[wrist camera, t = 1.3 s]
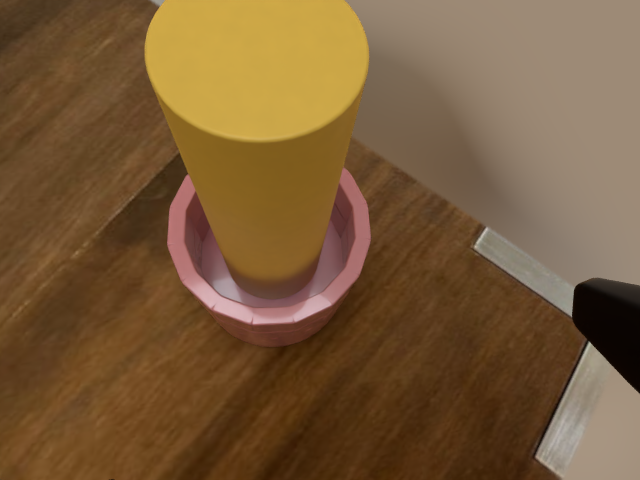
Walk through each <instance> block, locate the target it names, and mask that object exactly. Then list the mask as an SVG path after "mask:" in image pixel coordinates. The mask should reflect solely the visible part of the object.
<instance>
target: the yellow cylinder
mask: <svg viewBox="0 0 640 480" xmlns="http://www.w3.org/2000/svg"><path fill="white" fill-rule="evenodd" d="M145 63H146V69H147V72H148V75H149V78H150V81H151V84H152V86H153V89H154V91H155V94H156V96H157V98H158V101H159V103H160V106H161V108H162V111H163V113H164V115H165V118H166V120H167V123H168V125H169V127H170V130H171V132H172V135H173V137H174V140H175V142H176V144H177V147H178V149H179V152H180V154H181V157H182V159H183V161H184V164H185V166H186V169H187V171H188V173H189V176H190V178H191V181H192V183H193V186H194V188H195V190H196V193H197V195H198V198H199V200H200V203H201V205H202V207H203V210H204V212H205V215H206V217H207V219H208V222H209V224H210V227H211V229H212V232H213V234H214V236H215V239H216V241H217V244H218V246H219V249H220V251H221V253H222V256H223V258H224V261H225V263H226V266H227V268H228V270H229V273H230V275H231V277H232V278H233V280H234V281H235V282H236V283H237V285H238V286H239V287H241V288H242V289H243V290H244V291H246V292H247V293H249V294H251V295H253V296H256V297H259V298H264V299H281V298H285V297H288V296H291V295H293V294H295V293H297V292H298V291H300V290H301V289H303V288H304V287H305V286H306V285H307V284H308V283H309V281H310V280H311V279H312V277H313V276H314V274H315V272H316V269H317V266H318V262H319V259H320V255H321V251H322V247H323V243H324V239H325V235H326V232H327V228H328V224H329V220H330V216H331V212H332V208H333V205H334V201H335V197H336V193H337V189H338V185H339V181H340V178H341V174H342V170H343V166H344V162H345V158H346V155H347V151H348V147H349V143H350V139H351V135H352V131H353V127H354V124H355V120H356V116H357V112H358V108H359V104H360V101H361V97H362V93H363V89H364V85H365V81H366V77H367V73H368V67H369V47H368V42H367V38H366V34H365V32H364V29H363V26H362V24H361V22H360V20H359V19H358V17H357V15H356V14H355V12H354V11H353V10H352V8H351V7H350V6H349V4H348V3H347V2H346V1H345V0H165V1H164V2H163V4H162V5H161V6H160V8H159V9H158V10H157V12H156V14H155V15H154V17H153V19H152V21H151V24H150V26H149V29H148V32H147V37H146V42H145Z"/></svg>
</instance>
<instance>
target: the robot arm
mask: <svg viewBox="0 0 640 480" xmlns="http://www.w3.org/2000/svg"><path fill="white" fill-rule="evenodd" d="M572 319H573V322H574V324H575V326H576V327H577V329H578V330H579V331H580V332H581V333H582V334H583V335H584V336H585V337H586V338H587V339H588V341H589V342H590V343H591V344H592V345H593V346H594V347H595V348H596V349H597V350H598V351H599V352H600V353H601V354H602V355H603V356H604V357H605V358H606V360H607V361H608V362H609V363H610V364H611V365H612V366H613V367H614V368H615V369H616V370H617V371H618V372H619V373H620V374H621V375H622V376H623V378H624V379H625V380H627V382H628V383H629V384H630V385H631V386H632V387H633V388H634V389H635V390H636V391H638V392H639V393H640V286H639V285H634V284H628V283H623V282H618V281H613V280H607V279H602V278H592V279H589V280H587V281H584V282H582V283H580V284H578V285H577V286H576V287H575V289H574V297H573V310H572ZM111 480H114V479H111Z"/></svg>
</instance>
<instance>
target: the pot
mask: <svg viewBox="0 0 640 480" xmlns="http://www.w3.org/2000/svg"><path fill="white" fill-rule="evenodd" d="M370 240H371V232H370V222H369V212H368V205H367V202H366V201H365V199H364V197H363V195H362V193H361V192H360V190H359V188H358V186H357V184H356V182H355V181H354V179H353V177H352V175H351V174H349V171H347V170H346V169H345V168H344V167H343V170H342V174H341V178H340V181H339V185H338V189H337V193H336V197H335V201H334V205H333V208H332V212H331V216H330V220H329V224H328V228H327V232H326V235H325V239H324V243H323V247H322V251H321V255H320V259H319V262H318V266H317V269H316V272H315V274H314V276H313V277H312V279H311V280H310V281H309V283H308V284H307V285H306V286H305V287H304V288H303V289H301V290H300V291H298V292H297V293H295V294H293V295H291V296H288V297H285V298H281V299H264V298H259V297H256V296H253V295H251V294H249V293H247V292H246V291H244V290H243V289H242V288H241V287H239V286H238V285H237V283H236V282H235V281H234V280H233V278H232V277H231V275H230V273H229V270H228V268H227V266H226V263H225V261H224V258H223V256H222V253H221V251H220V249H219V246H218V244H217V241H216V239H215V236H214V234H213V232H212V229H211V227H210V224H209V222H208V219H207V217H206V215H205V212H204V210H203V207H202V205H201V203H200V200H199V198H198V195H197V193H196V190H195V188H194V186H193V183H192V181H191V178H190V176H189V173H188V175H187V176H186V177H185V179H184V181H183V183H182V185H181V187H180V189H179V191H178V193H177V194H176V196H175V198H174V200H173V202H172V204H171V206H170V209H169V223H168V238H167V245H168V250H169V252H170V255H171V257H172V260H173V262H174V265H175V267H176V270H177V273H178V275H179V278H180V280H181V282H182V283H183V285H184V286H185V287H186V288H187V289H188V291H189V292H190V293H191V294H192V295H193V296H194V298H195V299H196V300H197V301H198V302H199V303H200V305H201V306H203V307H204V308H205V309H206V310H207V311H208V312H209V314H210V315H211V316H212V317H213V318H214V319H215V321H216V322H217V323H218V324H219V325H220V326H221V327H222V328H223V329H224V330H226V331H227V332H228V333H229V334H231V335H233V336H234V337H236V338H238V339H240V340H242V341H244V342H247V343H250V344H253V345H258V346H264V347H279V346H287V345H291V344H295V343H298V342H300V341H303V340H305V339H307V338H309V337H310V336H312V335H314V334H315V333H317V332H318V331H319V330H321V329H322V328H323V327H324V326H325V325H326V324H327V323H328V322H329V321H330V319H331V318H332V317H333V315H334V314H335V312H336V311H337V309H338V307H339V306H340V304H341V303H342V302H343V301H344V300H345V299H346V297H347V295H348V294H349V292H350V290H351V289H352V287H353V286H354V284H355V282H356V281H357V279H358V277H359V276H360V273H361V270H362V267H363V264H364V261H365V258H366V255H367V252H368V249H369V246H370V243H371V241H370Z"/></svg>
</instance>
